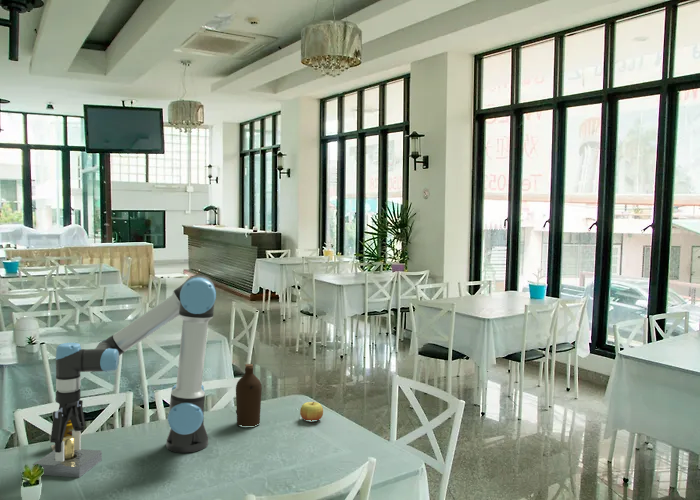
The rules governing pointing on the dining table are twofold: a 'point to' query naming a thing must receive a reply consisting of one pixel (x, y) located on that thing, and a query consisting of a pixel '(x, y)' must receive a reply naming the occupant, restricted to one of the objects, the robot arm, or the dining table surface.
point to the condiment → (66, 431)
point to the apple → (311, 411)
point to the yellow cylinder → (68, 447)
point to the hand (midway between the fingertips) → (68, 455)
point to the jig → (70, 463)
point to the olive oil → (248, 398)
